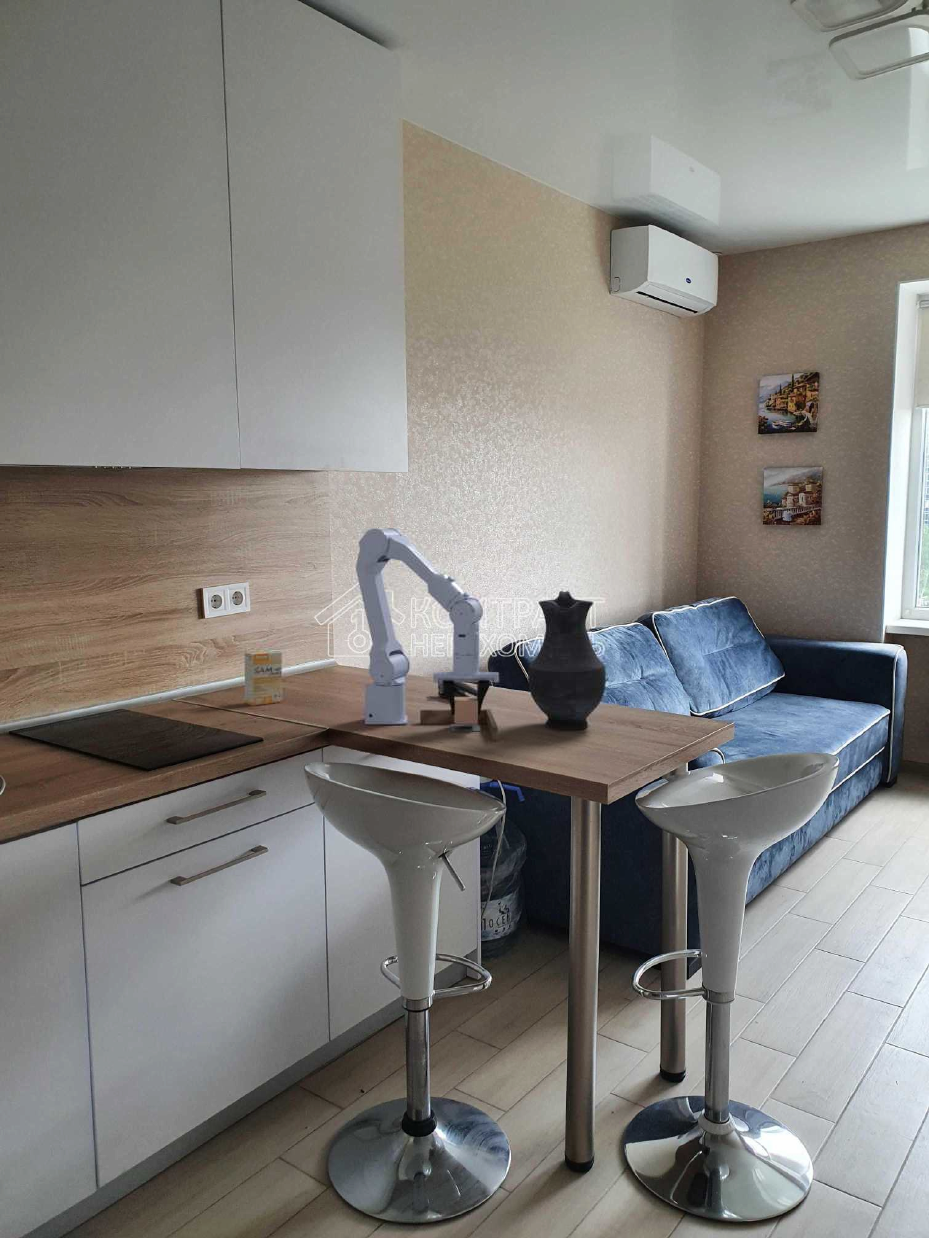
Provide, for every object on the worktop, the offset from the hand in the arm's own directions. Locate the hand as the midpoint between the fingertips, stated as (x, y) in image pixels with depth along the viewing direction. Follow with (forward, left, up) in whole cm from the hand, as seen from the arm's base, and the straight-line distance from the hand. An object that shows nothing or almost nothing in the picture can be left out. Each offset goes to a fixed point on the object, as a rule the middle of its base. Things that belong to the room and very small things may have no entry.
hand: (465, 714), depth 206 cm
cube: (0, 0, -2) cm, 2 cm away
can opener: (+1, +32, -4) cm, 32 cm away
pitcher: (+23, +3, -3) cm, 24 cm away
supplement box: (-49, +29, -3) cm, 57 cm away
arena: (-2, -4, -3) cm, 5 cm away
